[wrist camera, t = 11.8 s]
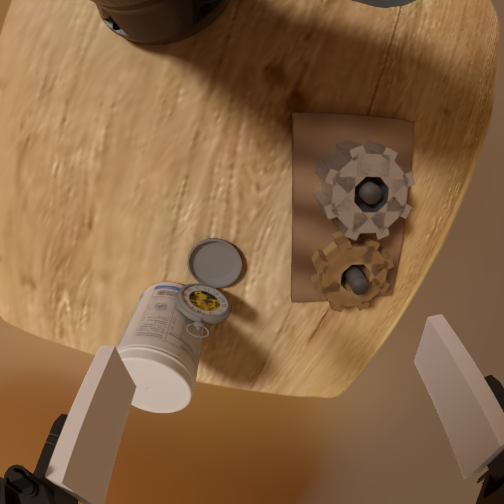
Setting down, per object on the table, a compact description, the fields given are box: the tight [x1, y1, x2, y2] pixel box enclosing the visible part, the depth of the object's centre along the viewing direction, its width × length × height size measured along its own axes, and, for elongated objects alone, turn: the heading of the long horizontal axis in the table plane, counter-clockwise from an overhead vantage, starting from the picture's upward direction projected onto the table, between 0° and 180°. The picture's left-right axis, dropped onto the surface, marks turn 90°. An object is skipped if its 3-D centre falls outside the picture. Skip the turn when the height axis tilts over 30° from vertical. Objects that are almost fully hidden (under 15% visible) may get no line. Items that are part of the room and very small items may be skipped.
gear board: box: [291, 113, 414, 312], centre depth 32 cm, size 23×14×6 cm, turn 2°
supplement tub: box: [116, 282, 205, 413], centre depth 35 cm, size 10×10×15 cm
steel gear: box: [314, 139, 415, 240], centre depth 30 cm, size 10×10×5 cm
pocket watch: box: [176, 238, 242, 338], centre depth 34 cm, size 8×8×10 cm
